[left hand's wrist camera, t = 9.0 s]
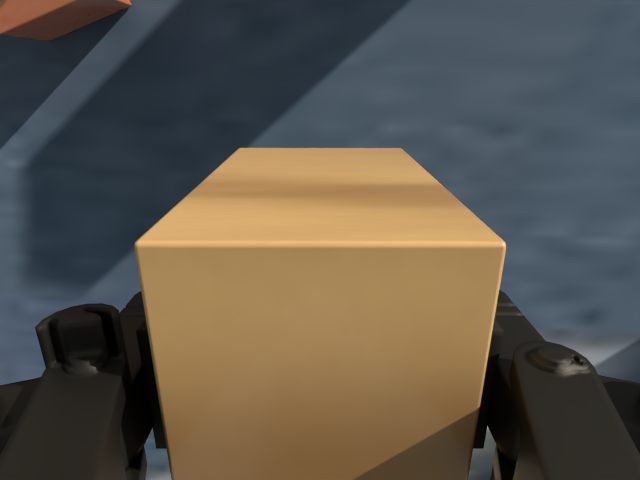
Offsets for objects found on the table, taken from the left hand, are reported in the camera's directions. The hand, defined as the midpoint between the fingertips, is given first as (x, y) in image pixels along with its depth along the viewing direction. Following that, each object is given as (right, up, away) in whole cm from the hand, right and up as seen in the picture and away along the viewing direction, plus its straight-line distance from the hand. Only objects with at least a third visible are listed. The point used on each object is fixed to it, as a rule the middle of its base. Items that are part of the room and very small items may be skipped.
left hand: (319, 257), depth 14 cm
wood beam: (0, -9, +4) cm, 10 cm away
